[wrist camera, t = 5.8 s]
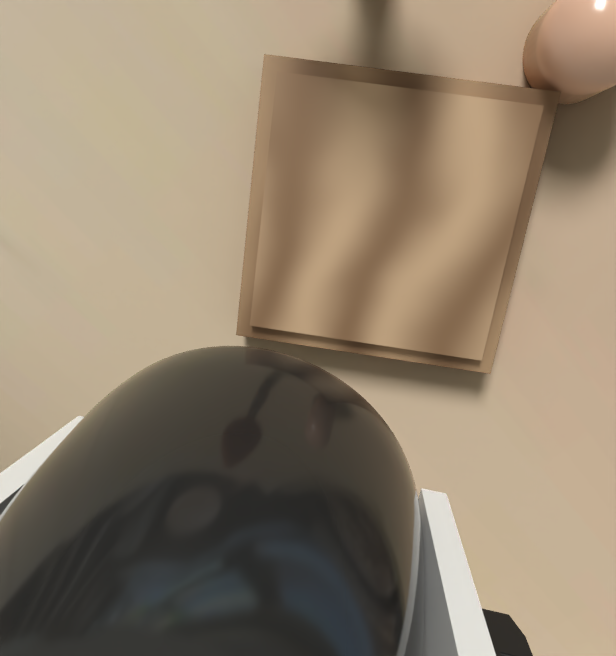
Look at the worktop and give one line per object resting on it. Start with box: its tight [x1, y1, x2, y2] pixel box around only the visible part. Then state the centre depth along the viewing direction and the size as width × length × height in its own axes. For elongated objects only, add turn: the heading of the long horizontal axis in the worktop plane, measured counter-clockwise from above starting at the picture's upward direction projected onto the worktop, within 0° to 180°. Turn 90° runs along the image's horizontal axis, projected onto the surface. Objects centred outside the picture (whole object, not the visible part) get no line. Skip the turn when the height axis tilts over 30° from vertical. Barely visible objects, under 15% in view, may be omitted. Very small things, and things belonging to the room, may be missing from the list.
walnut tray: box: [236, 54, 561, 374], centre depth 31 cm, size 18×18×3 cm
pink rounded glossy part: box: [523, 0, 616, 104], centre depth 26 cm, size 6×6×5 cm
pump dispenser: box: [0, 346, 424, 656], centre depth 10 cm, size 10×10×15 cm
